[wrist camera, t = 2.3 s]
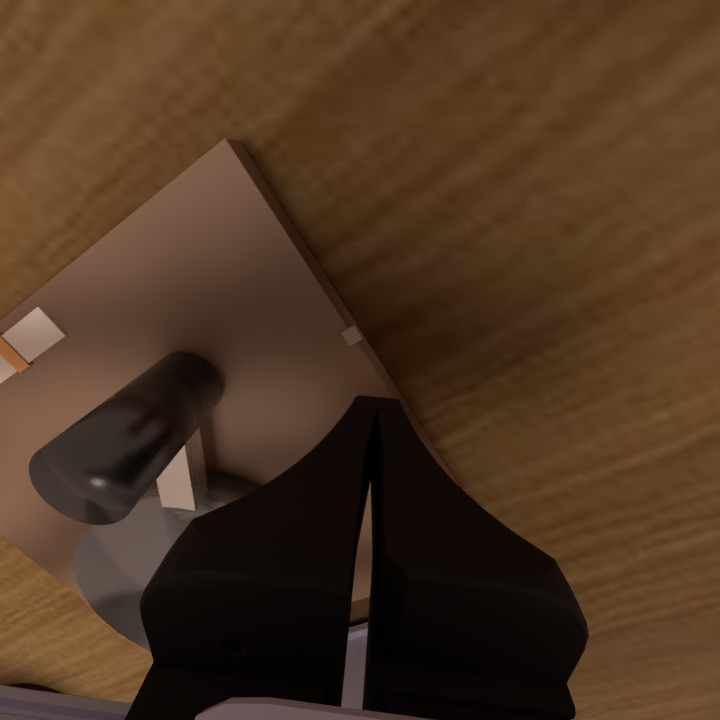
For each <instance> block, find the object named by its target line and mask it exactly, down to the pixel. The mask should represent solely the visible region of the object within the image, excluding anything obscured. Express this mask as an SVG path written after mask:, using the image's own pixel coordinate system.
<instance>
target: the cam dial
mask: <svg viewBox="0 0 720 720" xmlns="http://www.w3.org/2000/svg"><path fill="white" fill-rule="evenodd" d="M222 394H223V385H222V381H221V378H220V376H219V374H218V372H217V371H216V369H215V368H214V367H213V366H212V365H211V364H210V363H209V362H208V361H206V360H205V359H203V358H202V357H200V356H198V355H195V354H192V353H188V352H174V353H171V354H168V355H166V356H165V357H163V358H162V359H161V360H159V361H158V362H157V363H155V364H154V365H153V366H151V367H150V368H149V369H147V370H146V371H145V372H143V373H142V374H140V375H139V376H138V377H136V378H135V379H134V380H132V381H131V382H130V383H128V384H127V385H126V386H124V387H123V388H122V389H120V390H119V391H117V392H116V393H115V394H113V395H112V396H111V397H109V398H108V399H107V400H105V401H104V402H103V403H101V404H100V405H99V406H97V407H96V408H95V409H93V410H92V411H90V412H89V413H88V414H86V415H85V416H84V417H82V418H81V419H80V420H78V421H77V422H76V423H74V424H73V425H72V426H70V427H69V428H68V429H66V430H65V431H63V432H62V433H61V434H59V435H58V436H57V437H55V438H54V439H53V440H51V441H50V442H49V443H47V444H46V445H45V446H43V447H42V448H41V449H39V450H38V451H37V452H36V453H34V455H33V456H32V458H31V460H30V463H29V476H30V479H31V482H32V484H33V486H34V488H35V490H36V491H37V493H38V494H39V495H40V496H41V497H42V498H43V500H44V501H45V502H46V503H48V504H49V505H50V506H51V507H52V508H54V509H55V510H57V511H58V512H60V513H61V514H63V515H65V516H67V517H69V518H71V519H74V520H76V521H79V522H83V523H86V524H92V526H91V527H90V528H89V529H88V531H87V532H86V533H85V534H84V535H83V537H82V538H81V540H80V542H79V543H78V546H77V549H76V552H75V557H74V570H75V576H76V579H77V583H78V585H79V587H80V590H81V592H82V594H83V595H84V597H85V598H86V600H87V602H88V603H89V605H90V606H91V607H92V608H93V609H94V610H95V612H96V613H97V614H98V615H99V616H100V617H101V618H102V619H103V620H104V621H105V622H106V623H107V624H109V625H110V626H111V627H112V628H114V629H115V630H116V631H117V632H119V633H120V634H122V635H123V636H125V637H126V638H128V639H129V640H131V641H133V642H135V643H136V644H138V645H140V646H142V647H144V648H146V649H148V650H150V647H149V643H148V640H147V636H146V633H145V630H144V626H143V623H142V620H141V616H140V605H139V602H140V600H141V597H142V594H143V592H144V590H145V588H146V586H147V585H148V583H149V581H150V580H151V578H152V577H153V575H154V573H155V572H156V570H157V569H158V567H159V565H160V564H161V562H162V560H163V559H164V557H165V556H166V554H167V552H168V551H169V549H170V548H171V547H172V545H173V544H174V543H175V541H176V540H177V538H178V537H179V536H180V535H181V534H182V532H183V531H184V530H185V529H186V527H187V526H188V525H189V523H190V522H191V520H192V519H194V518H196V517H199V516H201V515H204V514H206V513H208V512H210V511H213V510H215V509H217V508H219V507H222V506H224V505H226V504H228V503H231V502H233V501H235V500H237V499H239V498H241V497H243V496H245V495H247V494H249V493H250V492H252V491H254V490H256V489H257V488H255V487H253V486H251V485H249V484H246V483H243V482H240V481H238V480H235V479H231V478H227V477H223V476H220V475H214V474H208V473H206V471H205V464H204V457H203V450H202V443H201V436H200V429H199V427H200V425H201V424H202V423H203V422H204V420H205V419H206V418H207V417H208V415H209V414H210V413H211V412H212V410H213V409H214V408H215V407H216V406H217V404H218V403H219V402H220V400H221V398H222ZM150 651H151V650H150Z"/></svg>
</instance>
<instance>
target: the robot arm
mask: <svg viewBox="0 0 720 720" xmlns="http://www.w3.org/2000/svg"><path fill="white" fill-rule="evenodd" d="M370 481H371V521H372V571H371V586H370V602H369V617H368V622H366V623H363V624H359V625H356V626H352V627H349V623H350V612H351V602H352V592H353V582H354V572H355V562H356V555H357V549H358V543H359V538H360V533H361V527H362V522H363V517H364V512H365V507H366V501H367V496H368V491H369V486H370ZM139 605H140V616H141V620H142V623H143V626H144V630H145V633H146V636H147V640H148V643H149V647H150V650H151V653H152V657H153V660H154V662H153V664H152V666H151V668H150V670H149V672H148V674H147V676H146V678H145V680H144V682H143V684H142V686H141V688H140V690H139V692H138V694H137V696H136V698H135V700H134V702H133V704H132V703H124V702H117V701H110V700H103V699H96V698H89V697H81V696H74V695H67V694H60V693H53V692H45V691H38V690H31V689H24V688H17V687H9V686H2V685H0V720H571V719H574V717H575V715H576V714H575V706H574V703H573V700H572V698H571V695H570V692H569V689H568V686H567V681H568V679H569V678H570V676H571V674H572V672H573V670H574V668H575V666H576V665H577V663H578V661H579V659H580V657H581V655H582V654H583V652H584V650H585V647H586V644H587V640H588V637H589V635H588V629H587V623H586V620H585V618H584V616H583V613H582V611H581V609H580V607H579V604H578V602H577V600H576V598H575V596H574V594H573V592H572V590H571V588H570V586H569V584H568V582H567V580H566V579H565V577H564V575H563V573H562V572H561V570H560V568H559V566H558V564H557V562H556V561H555V559H553V558H552V557H550V556H549V555H547V554H546V553H544V552H543V551H541V550H540V549H538V548H537V547H535V546H534V545H532V544H531V543H529V542H528V541H526V540H524V539H523V538H521V537H520V536H518V535H517V534H515V533H514V532H513V531H511V530H510V529H509V528H507V527H506V526H505V525H503V524H502V523H501V522H499V521H498V520H497V519H496V518H494V517H493V516H492V515H490V514H489V513H488V512H487V511H486V510H484V509H483V508H482V507H481V506H480V505H478V504H477V503H476V502H475V501H474V500H473V499H472V498H471V497H470V496H469V495H467V494H466V493H465V492H464V491H463V490H462V489H461V488H460V487H459V486H458V485H457V484H456V483H455V482H454V481H453V480H452V479H451V478H450V477H449V476H448V474H447V473H446V472H445V471H444V470H443V469H442V467H441V466H440V465H439V464H438V462H437V461H436V460H435V459H434V457H433V456H432V455H431V453H430V452H429V450H428V449H427V448H426V446H425V445H424V443H423V442H422V440H421V439H420V437H419V435H418V434H417V432H416V431H415V429H414V427H413V426H412V424H411V422H410V420H409V418H408V416H407V414H406V412H405V410H404V408H403V406H402V403H401V402H400V400H399V399H394V398H384V397H373V396H363V395H358V396H356V397H355V398H354V400H353V402H352V403H351V405H350V406H349V408H348V409H347V411H346V412H345V414H344V415H343V416H342V417H341V419H340V420H339V421H338V422H337V424H336V425H335V426H334V427H333V428H332V429H331V431H330V432H329V433H328V434H327V435H326V436H325V437H324V438H323V439H322V440H321V441H320V442H319V443H318V444H317V445H316V446H315V447H314V448H313V449H312V450H311V451H310V452H308V453H307V454H306V455H305V456H304V457H303V458H301V459H300V460H299V461H298V462H297V463H295V464H294V465H293V466H291V467H290V468H288V469H287V470H286V471H284V472H283V473H282V474H280V475H279V476H277V477H276V478H274V479H273V480H271V481H270V482H268V483H266V484H265V485H263V486H261V487H260V488H258V489H256V490H254V491H252V492H250V493H249V494H247V495H245V496H243V497H241V498H239V499H237V500H235V501H233V502H231V503H228V504H226V505H224V506H222V507H219V508H217V509H215V510H213V511H210V512H208V513H206V514H204V515H201V516H199V517H196V518H194V519H192V520H191V522H190V523H189V525H188V526H187V527H186V529H185V530H184V531H183V532H182V534H181V535H180V536H179V537H178V538H177V540H176V541H175V543H174V544H173V545H172V547H171V548H170V549H169V551H168V552H167V554H166V556H165V557H164V559H163V560H162V562H161V564H160V565H159V567H158V569H157V570H156V572H155V573H154V575H153V577H152V578H151V580H150V581H149V583H148V585H147V586H146V588H145V590H144V592H143V594H142V597H141V600H140V602H139Z"/></svg>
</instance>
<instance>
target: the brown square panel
mask: <svg viewBox="0 0 720 720" xmlns="http://www.w3.org/2000/svg"><path fill="white" fill-rule="evenodd" d="M174 352H188V353H192V354H195V355H198V356H200V357H202V358H203V359H205V360H206V361H208V362H209V363H210V364H211V365H212V366H213V367H214V368H215V369H216V371H217V372H218V374H219V376H220V378H221V381H222V385H223V394H222V398H221V400H220V402H219V403H218V404H217V406H216V407H215V408H214V409H213V410H212V412H211V413H210V414H209V415H208V417H207V418H206V419H205V420H204V422H203V423H202V424H201V425H200V427H199V429H200V436H201V443H202V450H203V457H204V464H205V471H206V473H208V474H214V475H220V476H223V477H227V478H231V479H235V480H238V481H240V482H243V483H246V484H249V485H251V486H253V487H255V488H257V489H258V488H260V487H261V486H263V485H265V484H266V483H268V482H270V481H271V480H273V479H274V478H276V477H277V476H279V475H280V474H282V473H283V472H284V471H286V470H287V469H288V468H290V467H291V466H293V465H294V464H295V463H297V462H298V461H299V460H300V459H301V458H303V457H304V456H305V455H306V454H307V453H308V452H310V451H311V450H312V449H313V448H314V447H315V446H316V445H317V444H318V443H319V442H320V441H321V440H322V439H323V438H324V437H325V436H326V435H327V434H328V433H329V432H330V431H331V429H332V428H333V427H334V426H335V425H336V424H337V422H338V421H339V420H340V419H341V417H342V416H343V415H344V414H345V412H346V411H347V409H348V408H349V406H350V405H351V403H352V402H353V400H354V398H355V397H356V396H358V395H363V396H373V397H384V398H394V399H399V400H400V402H401V403H402V406H403V408H404V410H405V412H406V414H407V416H408V418H409V420H410V422H411V424H412V426H413V427H414V429H415V431H416V432H417V434H418V435H419V437H420V439H421V440H422V442H423V443H424V445H425V446H426V448H427V449H428V450H429V452H430V453H431V455H432V456H433V457H434V459H435V460H436V461H437V462H438V464H439V465H440V466H441V467H442V469H443V470H444V471H445V472H446V473H447V474H448V476H449V477H450V478H451V479H452V480H453V481H454V482H455V483H456V484H457V485H458V483H457V482H456V480H455V478H454V477H453V475H452V474H451V472H450V471H449V469H448V467H447V466H446V464H445V463H444V461H443V460H442V458H441V456H440V455H439V453H438V452H437V450H436V449H435V447H434V445H433V444H432V442H431V441H430V439H429V438H428V436H427V434H426V433H425V431H424V430H423V428H422V427H421V425H420V423H419V422H418V420H417V419H416V417H415V415H414V414H413V412H412V411H411V409H410V408H409V406H408V404H407V403H406V401H405V400H404V398H403V397H402V395H401V393H400V392H399V390H398V389H397V387H396V386H395V384H394V382H393V381H392V379H391V378H390V376H389V375H388V373H387V371H386V370H385V368H384V367H383V365H382V364H381V362H380V360H379V359H378V357H377V356H376V354H375V353H374V351H373V349H372V348H371V346H370V345H369V343H368V341H367V340H366V338H365V337H364V335H363V334H362V332H361V330H360V329H359V327H358V326H357V324H356V323H355V321H354V319H353V318H352V316H351V315H350V313H349V312H348V310H347V308H346V307H345V305H344V304H343V302H342V301H341V299H340V297H339V296H338V294H337V293H336V291H335V290H334V288H333V286H332V285H331V283H330V282H329V280H328V278H327V277H326V275H325V274H324V272H323V271H322V269H321V267H320V266H319V264H318V263H317V261H316V260H315V258H314V256H313V255H312V253H311V252H310V250H309V249H308V247H307V245H306V244H305V242H304V241H303V239H302V238H301V236H300V234H299V233H298V231H297V230H296V228H295V227H294V225H293V223H292V222H291V220H290V219H289V217H288V216H287V214H286V212H285V211H284V209H283V208H282V206H281V204H280V203H279V201H278V200H277V198H276V197H275V195H274V193H273V192H272V190H271V189H270V187H269V186H268V184H267V182H266V181H265V179H264V178H263V176H262V175H261V173H260V171H259V170H258V168H257V167H256V165H255V164H254V162H253V160H252V159H251V157H250V156H249V154H248V153H247V151H246V149H245V148H244V146H243V145H242V143H241V142H237V141H234V140H230V139H227V138H224V139H223V140H222V141H220V142H219V143H218V144H217V145H216V146H214V147H213V148H212V149H211V150H209V151H208V152H207V153H206V154H205V155H203V156H202V157H201V158H200V159H198V160H197V161H196V162H195V163H193V164H192V165H191V166H190V167H189V168H187V169H186V170H185V171H184V172H182V173H181V174H180V175H179V176H178V177H176V178H175V179H174V180H173V181H171V182H170V183H169V184H168V185H166V186H165V187H164V188H163V189H162V190H160V191H159V192H158V193H157V194H155V195H154V196H153V197H152V198H151V199H149V200H148V201H147V202H146V203H144V204H143V205H142V206H141V207H139V208H138V209H137V210H136V211H135V212H133V213H132V214H131V215H130V216H128V217H127V218H126V219H125V220H124V221H122V222H121V223H120V224H119V225H117V226H116V227H115V228H114V229H112V230H111V231H110V232H109V233H108V234H106V235H105V236H104V237H103V238H101V239H100V240H99V241H98V242H97V243H95V244H94V245H93V246H92V247H90V248H89V249H88V250H87V251H85V252H84V253H83V254H82V255H81V256H79V257H78V258H77V259H76V260H74V261H73V262H72V263H71V264H70V265H68V266H67V267H66V268H65V269H63V270H62V271H61V272H60V273H58V274H57V275H56V276H55V277H54V278H52V279H51V280H50V281H49V282H47V283H46V284H45V285H44V286H43V287H41V288H40V289H39V290H38V291H36V292H35V293H34V294H33V295H31V296H30V297H29V298H28V299H27V300H25V301H24V302H23V303H22V304H20V305H19V306H18V307H17V308H16V309H14V310H13V311H12V312H11V313H9V314H8V315H7V316H6V317H4V318H3V319H2V320H1V321H0V535H1V536H3V537H4V538H5V539H7V540H8V541H9V542H10V543H12V544H13V545H14V546H15V547H17V548H18V549H19V550H21V551H22V552H23V553H24V554H26V555H27V556H28V557H29V558H31V559H32V560H33V561H35V562H36V563H37V564H38V565H40V566H41V567H42V568H44V569H45V570H46V571H47V572H49V573H50V574H51V575H52V576H54V577H55V578H56V579H58V580H59V581H60V582H61V583H63V584H64V585H65V586H67V587H68V588H69V589H70V590H72V591H73V592H74V593H75V594H77V595H78V596H79V597H81V598H82V599H83V600H84V601H86V602H87V600H86V598H85V597H84V595H83V594H82V592H81V590H80V587H79V585H78V583H77V579H76V576H75V570H74V557H75V552H76V549H77V546H78V543H79V542H80V540H81V538H82V537H83V535H84V534H85V533H86V532H87V531H88V529H89V528H90V527H91V526H92V524H86V523H83V522H79V521H76V520H74V519H71V518H69V517H67V516H65V515H63V514H61V513H60V512H58V511H57V510H55V509H54V508H52V507H51V506H50V505H49V504H48V503H46V502H45V501H44V500H43V498H42V497H41V496H40V495H39V494H38V493H37V491H36V490H35V488H34V486H33V484H32V482H31V479H30V476H29V463H30V460H31V458H32V456H33V455H34V453H36V452H37V451H38V450H39V449H41V448H42V447H43V446H45V445H46V444H47V443H49V442H50V441H51V440H53V439H54V438H55V437H57V436H58V435H59V434H61V433H62V432H63V431H65V430H66V429H68V428H69V427H70V426H72V425H73V424H74V423H76V422H77V421H78V420H80V419H81V418H82V417H84V416H85V415H86V414H88V413H89V412H90V411H92V410H93V409H95V408H96V407H97V406H99V405H100V404H101V403H103V402H104V401H105V400H107V399H108V398H109V397H111V396H112V395H113V394H115V393H116V392H117V391H119V390H120V389H122V388H123V387H124V386H126V385H127V384H128V383H130V382H131V381H132V380H134V379H135V378H136V377H138V376H139V375H140V374H142V373H143V372H145V371H146V370H147V369H149V368H150V367H151V366H153V365H154V364H155V363H157V362H158V361H159V360H161V359H162V358H163V357H165V356H166V355H168V354H171V353H174ZM458 486H459V485H458ZM459 487H460V486H459ZM371 571H372V521H371V481H370V486H369V491H368V496H367V501H366V507H365V512H364V517H363V522H362V527H361V533H360V538H359V543H358V549H357V555H356V562H355V572H354V582H353V592H352V602H354V601H357V600H360V599H363V598H366V597H370V586H371ZM87 603H88V602H87ZM88 604H89V603H88ZM147 650H148V649H147ZM148 651H150V650H148ZM150 652H151V651H150Z"/></svg>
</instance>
